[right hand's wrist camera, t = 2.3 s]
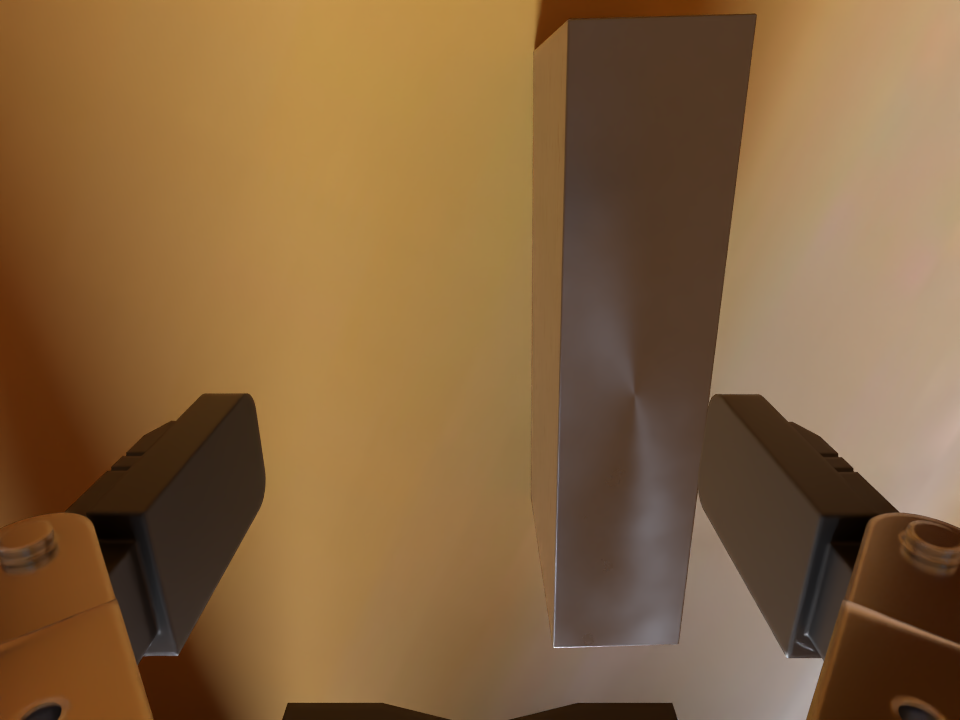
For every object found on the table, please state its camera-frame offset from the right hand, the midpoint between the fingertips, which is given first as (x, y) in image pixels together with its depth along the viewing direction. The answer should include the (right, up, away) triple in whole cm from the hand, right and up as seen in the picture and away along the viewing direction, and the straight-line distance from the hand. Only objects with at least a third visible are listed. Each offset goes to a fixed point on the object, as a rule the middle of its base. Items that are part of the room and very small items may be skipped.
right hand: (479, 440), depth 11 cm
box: (+6, +4, +23) cm, 24 cm away
